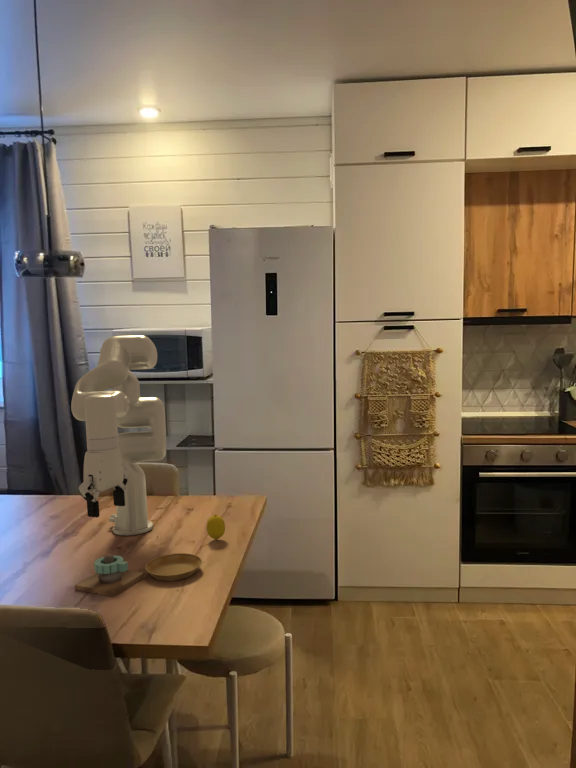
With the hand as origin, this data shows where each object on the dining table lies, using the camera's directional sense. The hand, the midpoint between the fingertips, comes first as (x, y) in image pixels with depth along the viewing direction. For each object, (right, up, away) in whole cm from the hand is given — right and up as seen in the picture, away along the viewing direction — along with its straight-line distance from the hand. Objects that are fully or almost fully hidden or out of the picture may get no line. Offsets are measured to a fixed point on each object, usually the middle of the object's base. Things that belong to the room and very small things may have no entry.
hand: (106, 511), depth 153 cm
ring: (0, -15, +1) cm, 15 cm away
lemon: (+24, -15, +30) cm, 42 cm away
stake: (0, -19, +2) cm, 19 cm away
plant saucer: (+16, -18, +7) cm, 25 cm away
